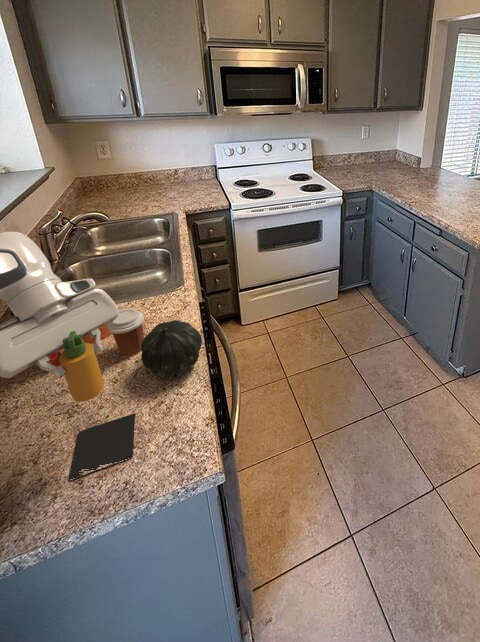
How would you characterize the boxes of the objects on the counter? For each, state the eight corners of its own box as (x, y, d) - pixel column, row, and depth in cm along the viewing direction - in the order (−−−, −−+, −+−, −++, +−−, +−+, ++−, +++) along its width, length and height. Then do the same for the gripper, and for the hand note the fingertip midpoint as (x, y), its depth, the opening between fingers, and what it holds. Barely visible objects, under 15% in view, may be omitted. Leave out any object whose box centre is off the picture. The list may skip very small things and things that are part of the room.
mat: (69, 481, 69) (69, 479, 69) (79, 432, 79) (79, 431, 78) (132, 457, 73) (132, 456, 73) (135, 414, 83) (134, 413, 83)
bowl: (64, 351, 102) (60, 339, 100) (73, 323, 113) (70, 312, 112) (118, 338, 107) (114, 326, 105) (121, 312, 118) (118, 301, 117)
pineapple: (69, 405, 68) (49, 349, 63) (75, 384, 72) (57, 331, 67) (102, 395, 70) (85, 341, 65) (105, 376, 74) (90, 323, 69)
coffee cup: (118, 343, 105) (109, 309, 101) (151, 336, 108) (144, 302, 103) (111, 365, 97) (102, 329, 93) (148, 357, 100) (140, 322, 95)
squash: (177, 319, 106) (145, 307, 94) (219, 333, 101) (191, 323, 89) (154, 369, 101) (116, 364, 88) (197, 386, 96) (163, 383, 83)
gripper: (-27, 330, 59) (16, 400, 58) (100, 275, 76) (136, 328, 74) (-27, 341, 63) (14, 407, 62) (94, 286, 79) (128, 338, 78)
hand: (81, 364), depth 68 cm, fingers closed on pineapple, 5 cm apart
